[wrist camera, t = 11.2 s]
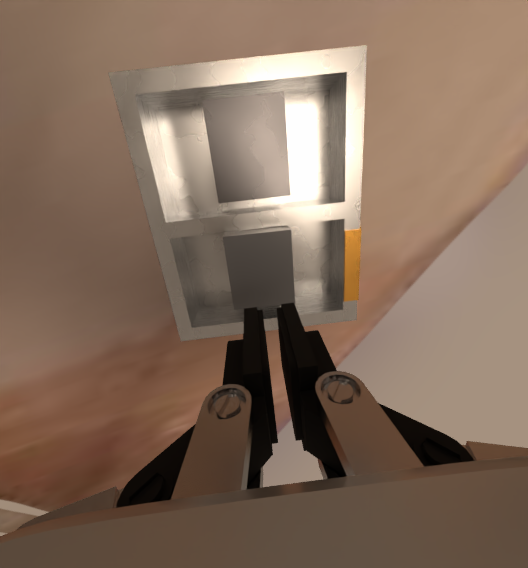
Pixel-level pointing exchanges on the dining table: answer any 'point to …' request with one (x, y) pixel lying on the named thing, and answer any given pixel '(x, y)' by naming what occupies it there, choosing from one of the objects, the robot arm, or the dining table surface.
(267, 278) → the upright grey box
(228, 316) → the grey divided tray
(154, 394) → the dining table surface
